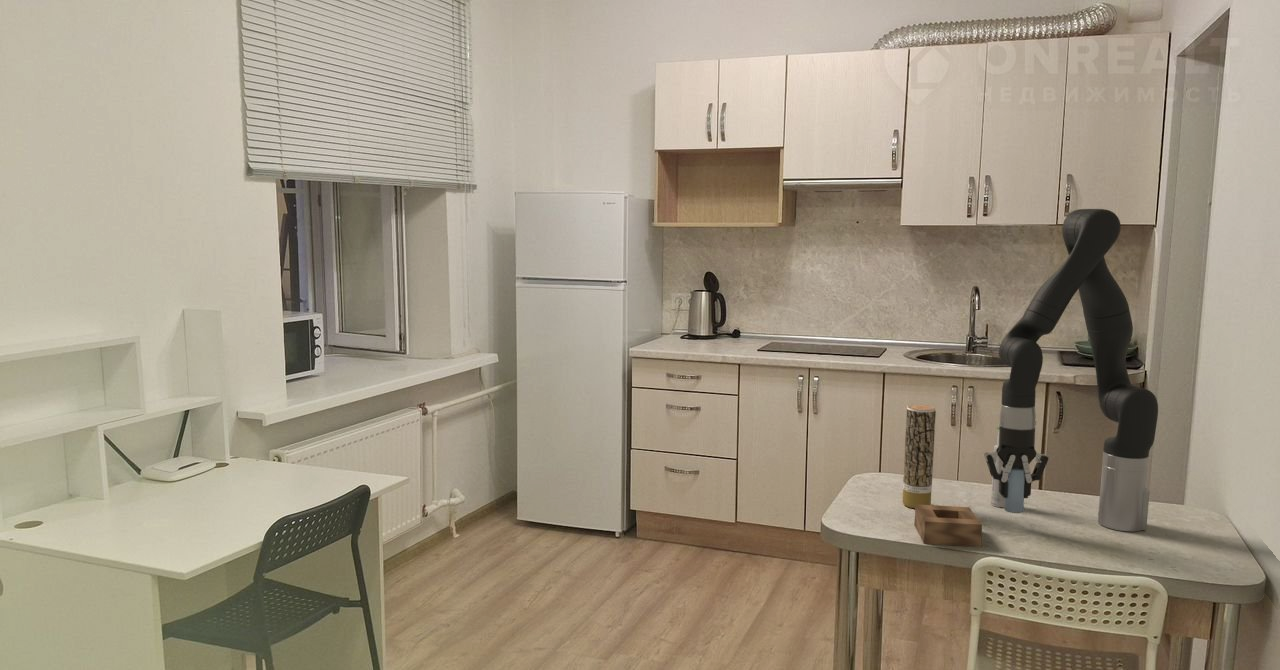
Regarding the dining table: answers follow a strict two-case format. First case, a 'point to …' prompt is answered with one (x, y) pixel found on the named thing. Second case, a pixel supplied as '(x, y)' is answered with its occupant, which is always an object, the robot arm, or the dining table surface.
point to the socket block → (948, 525)
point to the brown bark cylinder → (918, 455)
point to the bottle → (997, 482)
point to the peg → (1015, 491)
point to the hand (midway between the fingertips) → (1014, 496)
